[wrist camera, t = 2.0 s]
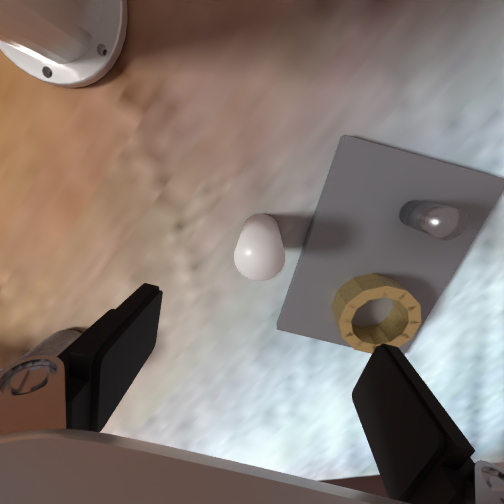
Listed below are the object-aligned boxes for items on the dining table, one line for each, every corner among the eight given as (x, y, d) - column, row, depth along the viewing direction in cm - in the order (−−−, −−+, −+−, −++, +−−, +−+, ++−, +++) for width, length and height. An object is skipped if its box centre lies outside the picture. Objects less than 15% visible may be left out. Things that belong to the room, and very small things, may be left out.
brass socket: (347, 266, 26) (357, 278, 23) (417, 284, 26) (435, 298, 23) (322, 325, 28) (328, 343, 26) (385, 341, 29) (398, 360, 26)
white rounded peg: (247, 209, 25) (240, 227, 18) (283, 218, 26) (291, 240, 18) (239, 243, 27) (229, 273, 19) (273, 252, 27) (276, 285, 19)
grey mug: (19, 355, 34) (-50, 409, 27) (74, 311, 31) (13, 357, 24) (53, 382, 36) (-3, 440, 28) (109, 342, 32) (62, 395, 25)
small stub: (406, 196, 23) (443, 204, 18) (431, 203, 23) (474, 212, 18) (394, 222, 24) (426, 235, 19) (419, 228, 24) (456, 243, 19)
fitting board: (341, 136, 23) (345, 134, 22) (497, 179, 23) (509, 180, 22) (276, 323, 30) (277, 329, 29) (396, 352, 31) (401, 359, 30)
